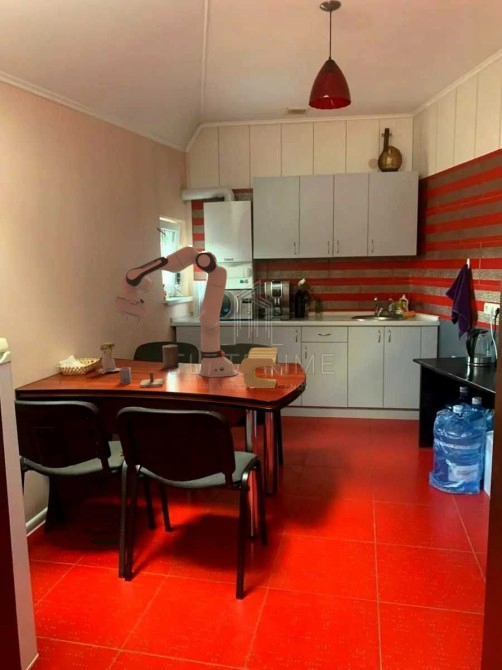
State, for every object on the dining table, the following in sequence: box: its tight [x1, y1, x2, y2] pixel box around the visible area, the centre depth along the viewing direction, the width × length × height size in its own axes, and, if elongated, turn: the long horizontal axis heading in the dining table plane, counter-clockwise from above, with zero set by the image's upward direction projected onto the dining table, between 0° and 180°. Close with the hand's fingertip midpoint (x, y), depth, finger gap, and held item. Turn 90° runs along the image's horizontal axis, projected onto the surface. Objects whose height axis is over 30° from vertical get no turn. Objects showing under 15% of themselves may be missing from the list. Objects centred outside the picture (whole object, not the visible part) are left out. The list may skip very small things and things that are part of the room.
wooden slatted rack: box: [240, 347, 278, 389], centre depth 271 cm, size 30×16×18 cm, turn 172°
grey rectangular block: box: [119, 366, 132, 385], centre depth 284 cm, size 5×5×8 cm
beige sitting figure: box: [98, 341, 121, 375], centre depth 312 cm, size 12×13×18 cm
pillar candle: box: [161, 344, 180, 369], centre depth 323 cm, size 10×10×15 cm
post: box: [139, 372, 165, 388], centre depth 279 cm, size 12×12×6 cm
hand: (132, 322), depth 289 cm, fingers open, 8 cm apart
